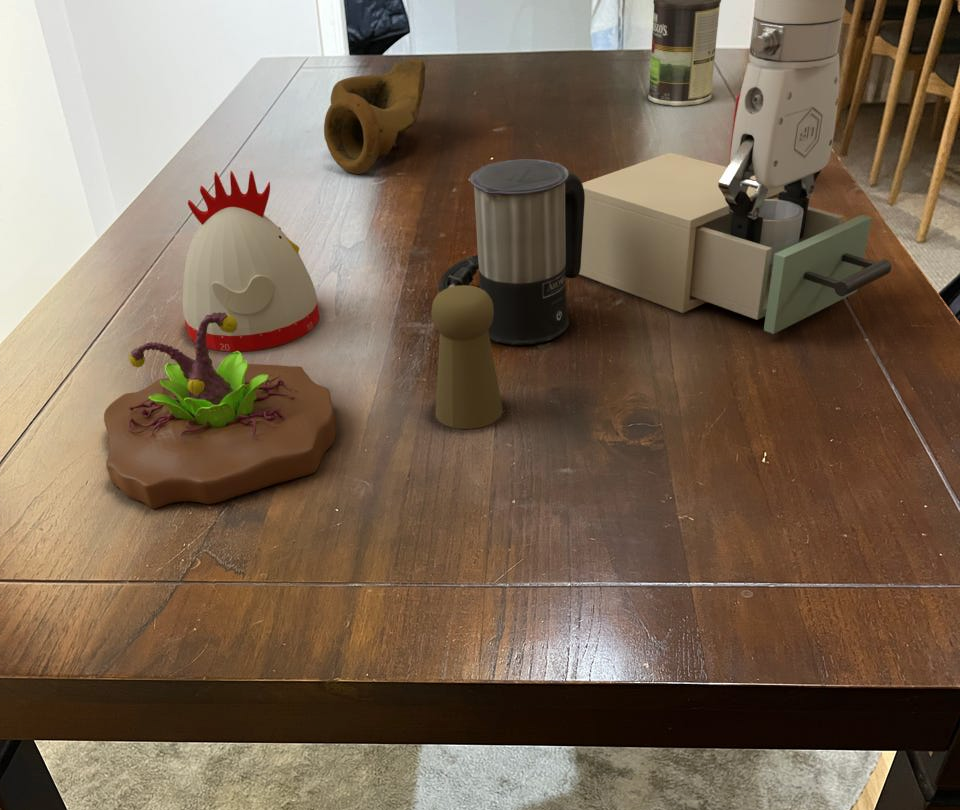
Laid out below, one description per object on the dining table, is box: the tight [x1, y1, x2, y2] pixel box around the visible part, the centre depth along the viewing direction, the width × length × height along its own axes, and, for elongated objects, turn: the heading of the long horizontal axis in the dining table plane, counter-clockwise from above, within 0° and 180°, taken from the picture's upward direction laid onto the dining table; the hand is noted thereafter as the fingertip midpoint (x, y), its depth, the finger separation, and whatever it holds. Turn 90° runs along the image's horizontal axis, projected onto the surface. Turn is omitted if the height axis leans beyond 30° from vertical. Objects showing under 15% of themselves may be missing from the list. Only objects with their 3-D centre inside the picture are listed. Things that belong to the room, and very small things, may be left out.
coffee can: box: [647, 0, 722, 107], centre depth 159 cm, size 10×10×14 cm
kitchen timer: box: [182, 170, 321, 353], centre depth 101 cm, size 14×14×15 cm
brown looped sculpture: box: [323, 58, 426, 175], centre depth 147 cm, size 18×13×22 cm
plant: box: [103, 312, 337, 509], centre depth 84 cm, size 20×20×11 cm
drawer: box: [690, 197, 892, 335], centre depth 100 cm, size 20×14×7 cm
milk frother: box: [438, 158, 585, 346], centre depth 100 cm, size 14×16×15 cm
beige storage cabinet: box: [578, 152, 786, 314], centre depth 108 cm, size 16×15×9 cm
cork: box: [431, 285, 503, 430], centre depth 86 cm, size 6×6×11 cm
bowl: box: [759, 199, 804, 266], centre depth 99 cm, size 6×6×4 cm
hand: (765, 244), depth 100 cm, fingers closed on bowl, 6 cm apart
